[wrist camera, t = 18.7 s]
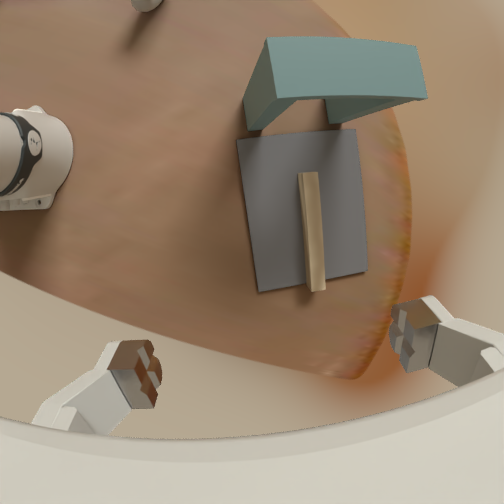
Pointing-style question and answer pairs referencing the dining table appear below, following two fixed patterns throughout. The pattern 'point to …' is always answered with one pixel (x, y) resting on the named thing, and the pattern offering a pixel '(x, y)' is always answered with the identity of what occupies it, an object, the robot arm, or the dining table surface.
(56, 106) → the dining table surface
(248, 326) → the dining table surface
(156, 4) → the donut
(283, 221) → the mat
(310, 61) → the teal arch
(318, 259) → the stick
